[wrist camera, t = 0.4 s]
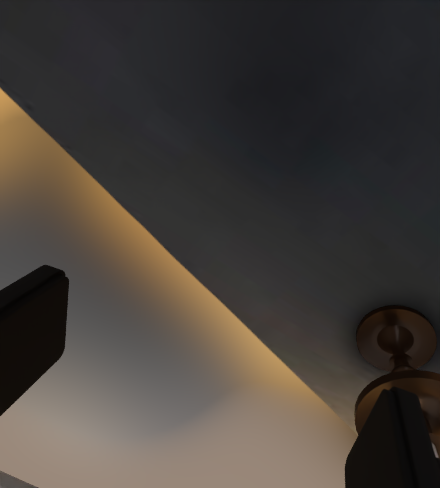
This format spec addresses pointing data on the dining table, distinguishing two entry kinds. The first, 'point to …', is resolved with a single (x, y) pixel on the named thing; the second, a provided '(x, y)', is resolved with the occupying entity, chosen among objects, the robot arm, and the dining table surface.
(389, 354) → the candlestick
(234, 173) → the dining table surface
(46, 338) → the robot arm
